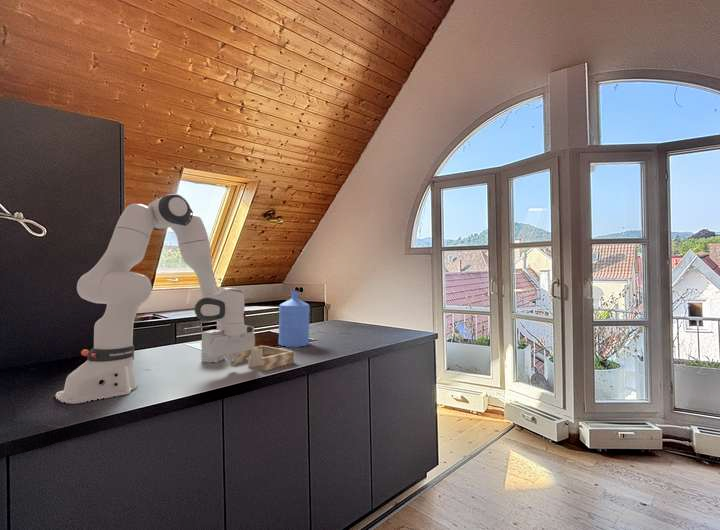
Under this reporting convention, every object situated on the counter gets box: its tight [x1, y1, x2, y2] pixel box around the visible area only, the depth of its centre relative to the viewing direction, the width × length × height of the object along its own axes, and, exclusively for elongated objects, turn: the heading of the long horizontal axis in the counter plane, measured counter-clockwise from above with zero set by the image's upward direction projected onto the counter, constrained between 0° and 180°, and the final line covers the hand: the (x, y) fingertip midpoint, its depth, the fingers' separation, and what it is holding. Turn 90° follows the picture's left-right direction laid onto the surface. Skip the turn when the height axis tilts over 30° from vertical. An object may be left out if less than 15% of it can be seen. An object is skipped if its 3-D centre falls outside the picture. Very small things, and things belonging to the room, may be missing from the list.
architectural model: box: [246, 349, 264, 368], centre depth 174 cm, size 3×7×7 cm, turn 139°
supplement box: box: [200, 329, 226, 364], centre depth 181 cm, size 7×7×13 cm
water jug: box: [277, 290, 311, 348], centre depth 218 cm, size 16×16×28 cm
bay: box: [230, 345, 295, 372], centre depth 177 cm, size 18×19×5 cm
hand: (231, 364), depth 164 cm, fingers closed
